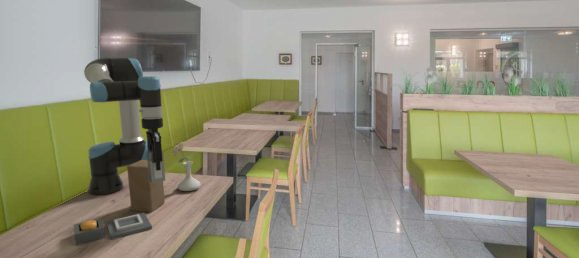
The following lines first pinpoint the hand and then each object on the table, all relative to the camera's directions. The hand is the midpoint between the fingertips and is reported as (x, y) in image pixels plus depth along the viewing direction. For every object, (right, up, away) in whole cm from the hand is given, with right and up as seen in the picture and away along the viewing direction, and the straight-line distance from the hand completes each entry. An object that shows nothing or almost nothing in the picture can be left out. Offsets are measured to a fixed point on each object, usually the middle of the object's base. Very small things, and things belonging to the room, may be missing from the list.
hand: (156, 175), depth 131 cm
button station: (-21, -21, -9) cm, 31 cm away
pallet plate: (-10, -19, -2) cm, 22 cm away
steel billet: (0, -2, 0) cm, 2 cm away
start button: (-21, -19, -10) cm, 29 cm away
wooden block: (-10, -16, +16) cm, 25 cm away
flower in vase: (+1, -12, +36) cm, 38 cm away
